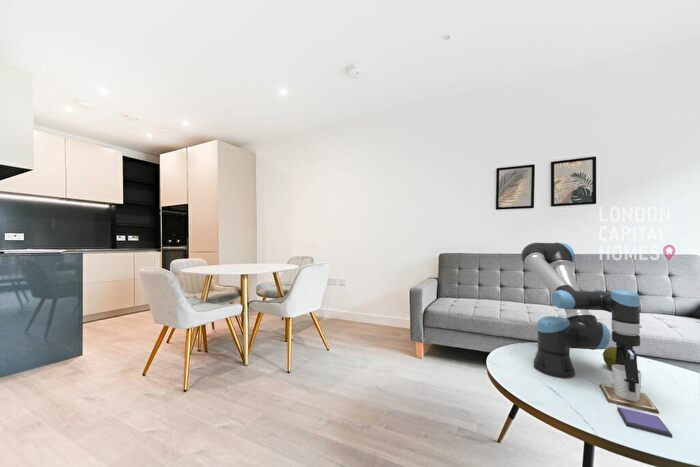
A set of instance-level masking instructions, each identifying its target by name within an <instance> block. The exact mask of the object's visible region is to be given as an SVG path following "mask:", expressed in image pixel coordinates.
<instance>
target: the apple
mask: <svg viewBox="0 0 700 467" xmlns="http://www.w3.org/2000/svg"><path fill="white" fill-rule="evenodd" d="M602 357H603V358H602V359H603V361H604V363H605V365H606V367H608V368H609V369H610V370H612V365H616V364H615V361H616V347H615V346H609V347H608V346H607V347H606V348H604V349H603V352H602Z"/></svg>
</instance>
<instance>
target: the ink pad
mask: <svg viewBox="0 0 700 467" xmlns="http://www.w3.org/2000/svg"><path fill="white" fill-rule="evenodd" d="M616 410H617V412H618V414H619V415H620V417H621V419H622V421H623V423H624V424H625V426H626V427H629V428H633V429H635V430H640V431H644V432H647V433H652V434H655V435H660V436H664V437H667V438H673V434H672V432H671V431H670V430H669V429H668V427H667V426H666V425H665V423H664V422H663V421H662V419H661V418H660V417H659V416H657V415H656V414H655V415H654V414H649V413H647V412H646V413H645V412H641V411H638V410H637V411H636V410H633V409H628V408H626V407H625V408H624V407H618V406H617V407H616Z"/></svg>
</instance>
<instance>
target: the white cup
mask: <svg viewBox="0 0 700 467" xmlns="http://www.w3.org/2000/svg"><path fill="white" fill-rule="evenodd" d="M611 373H612V385H613V387H614V393H615V394H616V395H617V396H619V397H621V398H623V399H626V385H625V381H624V379H626V372H625V366H624V365H617V364H616V365H612V369H611ZM638 378H639V384H637V401H639V398H640V392H641V389H642V388H641V387H642V371H641V370H639V369H638ZM626 400H627V399H626ZM630 401H632V400H630Z"/></svg>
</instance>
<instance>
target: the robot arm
mask: <svg viewBox="0 0 700 467" xmlns="http://www.w3.org/2000/svg"><path fill="white" fill-rule="evenodd" d="M520 257H521V258H520V259H521V261H522V263H523V265H524V266H525V267H527V268H528V269H531V270H532V272H533V273H534V274H535V275H536V277H538V278H539V279H540V281H541V282H542V283H543V284H544V286H546V288H547V290H549V291H550V293H552V294H551V301H552V302H553V305H554V306H555V307H556V308H558V309H564V311H565V314H566V316H565V317H562V316H551V315H550V316H543V317H541V318H539V319H538V320H537V328H536V330H537V351H536V354H535V357H534V358H533V368H534V369H535V370H537V371H538V372H540V373H542V374H545V375H547V376H550V377H555V378H560V379H571V378H574V377H575V376H576V370H575V369H576V368H575V367H574V365H573V362H572V359H571V356H570V349H581V350H592V351H595V350H605V349H607V348H608V345H609V344H610V341H611V339H612V342H613V343H615V345H616V361H615V364H617V365H624V366H625V372H626V379H624V381H625V385H626V399H627V400H632V401H636V402H637V384H639V378H638V370H639V369H638V354H637V353H636V352H635V350H634V347H640V346H641V336H640V333H641V330H640V329H642V327H643V326H642V325H641V323H640V322H641V321H640V319H641V318H640V316H641V315H640V313H641V311H640V310H641V307H640V306H641V303H640V295H639V293H637V292H635V291H632V290H623V289H614V290H612V291H611V292H608V291H606V290H605V291H604V290H600V289H592V290H588V291H587V290H580V288H579V285H578V282H577V280H576V278H575V275H574V273H573V270H572V269H571V268H572V266H573V265H574V264H573V263H574V262H575V260H576V259H575V251H574V250H573V248H572V246H571V245H569V244H567V243H565V242H564V243H563V242H531V243H530V244H527V245H526V246H525V247H524V248H523V249H522V251H521V254H520ZM590 311H605V312H607V313H608V312H609V313H611V330H612V332H611V334H610V330H609V328H608V327H607V325H606V324H605V323H603V322H602V321H598V320H597V317H596V315H594V314H592V313H591V312H590Z"/></svg>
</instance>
